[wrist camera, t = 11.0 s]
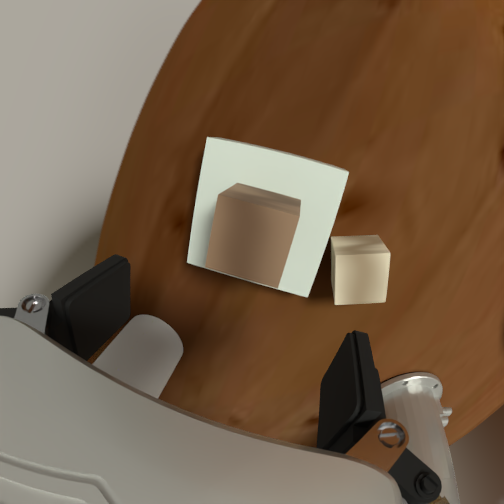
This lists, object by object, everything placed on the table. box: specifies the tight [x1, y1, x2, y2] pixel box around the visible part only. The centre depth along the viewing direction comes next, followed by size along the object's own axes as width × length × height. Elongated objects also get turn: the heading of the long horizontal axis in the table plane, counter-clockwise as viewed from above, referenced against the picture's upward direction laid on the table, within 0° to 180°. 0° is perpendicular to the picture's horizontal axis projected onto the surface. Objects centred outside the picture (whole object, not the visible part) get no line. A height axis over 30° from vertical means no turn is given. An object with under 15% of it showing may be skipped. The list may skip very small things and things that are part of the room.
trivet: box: [187, 137, 349, 297], centre depth 23 cm, size 11×11×3 cm
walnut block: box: [205, 183, 301, 289], centre depth 19 cm, size 5×5×5 cm
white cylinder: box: [92, 315, 183, 398], centre depth 28 cm, size 8×8×12 cm
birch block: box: [331, 235, 390, 305], centre depth 23 cm, size 4×4×4 cm
